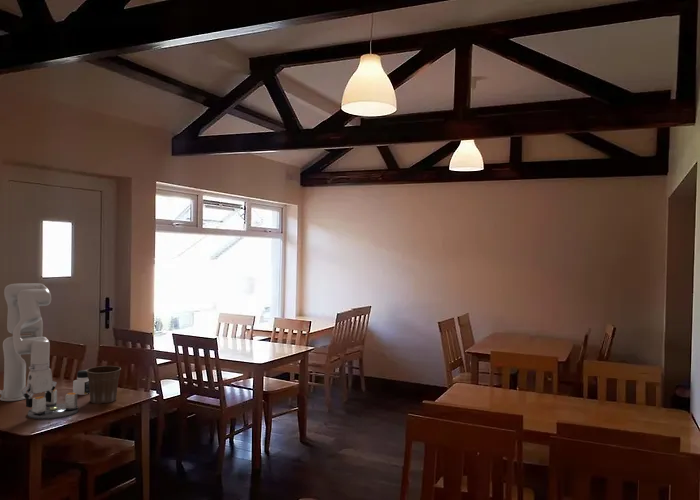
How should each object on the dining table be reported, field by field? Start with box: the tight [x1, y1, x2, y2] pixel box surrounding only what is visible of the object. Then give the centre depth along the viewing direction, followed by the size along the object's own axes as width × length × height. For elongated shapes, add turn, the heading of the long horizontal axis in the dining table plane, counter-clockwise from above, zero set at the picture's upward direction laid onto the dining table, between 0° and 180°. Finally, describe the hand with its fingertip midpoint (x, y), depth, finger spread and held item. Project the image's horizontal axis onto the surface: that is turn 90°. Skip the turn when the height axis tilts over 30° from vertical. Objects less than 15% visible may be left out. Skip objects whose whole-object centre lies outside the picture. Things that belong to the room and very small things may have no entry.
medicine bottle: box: [72, 369, 90, 396], centre depth 303 cm, size 7×7×12 cm
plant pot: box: [85, 365, 122, 405], centre depth 289 cm, size 16×16×16 cm
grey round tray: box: [27, 403, 80, 421], centre depth 266 cm, size 21×21×2 cm
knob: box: [31, 395, 46, 415], centre depth 259 cm, size 5×5×8 cm
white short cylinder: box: [64, 392, 78, 410], centre depth 267 cm, size 5×5×8 cm
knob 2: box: [44, 388, 58, 407], centre depth 272 cm, size 5×5×8 cm
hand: (38, 404), depth 259 cm, fingers open, 9 cm apart
